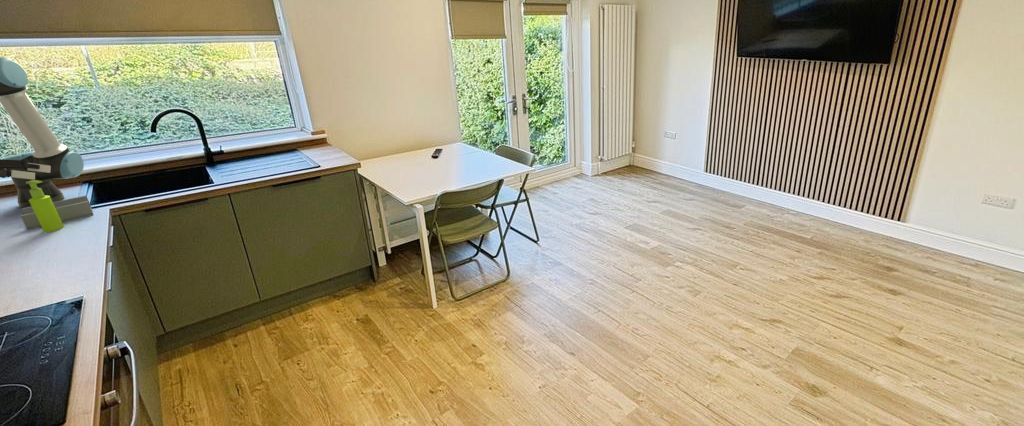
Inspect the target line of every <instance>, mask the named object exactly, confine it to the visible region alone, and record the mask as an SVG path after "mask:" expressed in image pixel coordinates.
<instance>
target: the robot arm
mask: <svg viewBox="0 0 1024 426" xmlns="http://www.w3.org/2000/svg"><path fill="white" fill-rule="evenodd" d="M28 77H29V75H28V73H27V71H26V70H25V68H24V67H23V66H22V64H20V63H18V61H15V60H13V59H11V58H9V57H0V104H1V105H2V107H3V108H4V109H5V111H6V112H7V114H8V115H9V116H10V118H11V119H12V121H13V122H14V124H15V125H16V127H17V128H18V129H19V130H20V132H21V133H22V135H23V136H24V138H25V139H26V140H27V142H28V143H29V144H30V146H31V147H32V149H33V150H30V151H24V152H21V153H16V154H13V155H10V156H7V157H5V158H0V178H2V179H5V178H11V180H12V182H13V184H14V186H15V188H16V190H17V205H18V206H19V208H21V209H22V208H27V207H32V206H31V204H30V202H29V200H30V199H32V196H31V194H30V192H29V190H31V187H30V185H29V183H28V184H26V182H28V181H32V180H39V181H42V183H39V184H36V185H37V187H38V188H41V189H42V191H43V193H44V195H48V196H50V197H51V200H52V202H56V201H61V200H65V195H64V193H63V192H62V190H60V189H59V188H58V187H57V186H56V185H55V184H54V183H53V181H52V180H61V179H62V180H63V179H64V180H65V179H68V180H69V179H71V178H72V179H73V178H77V177H79V176H80V175H81V174H82V173H83V170H84V166H85V164H84V159H83V157H82V156H81V154H80V153H78V152H76V151H70V148H68V146H67V145H65V144H62V143H60V142H59V141H58V139H57V137H56V136H55V135H54V133H53V131H52V130H51V129H50V127H49V125H48V123H46V121H45V120H44V118H43V117H42V115H41V114H40V112H39V111H38V109H37V108H36V106H35V105H34V103H33V102H32V100H31V98H30V97H29V95H28V94H27V90H28V89H29V87H28V86H27V85H28V83H29V78H28Z"/></svg>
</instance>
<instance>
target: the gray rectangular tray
mask: <svg viewBox="0 0 1024 426" xmlns="http://www.w3.org/2000/svg"><path fill="white" fill-rule="evenodd" d="M53 204H54V206H55V208H56V210H57V213H58V215H59V217H60V219H61V221H62V223H64V222H68V221H73V220H78V219H81V218H86V216H87V217H90V216H89V215H91V216H94V212H93V207H92V205H91V203H90V201H89V199H88V196H87V195H81V196H76V197H72V198H66V199H62V200H60V201H56V202H53ZM91 207H92V208H91ZM21 210H22V213H23V214H21V215H20V218H21V220H22V221H23V222H22V223H23V224H24V225H25V228H26V230H27V231H29V230H34V229H38V228H42V227H41V225H40V223H39V221H38V218H37V216H36V214H35V212H34V210H33V208H32V207H27V208H21Z"/></svg>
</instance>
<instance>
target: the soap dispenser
mask: <svg viewBox="0 0 1024 426" xmlns="http://www.w3.org/2000/svg"><path fill="white" fill-rule="evenodd" d="M28 183H29V185H30V187H31V190H29V192H30V194H31V196H32V199H30V200H29V202H30V204H31V206H32V208H33V210H34V212H35V214H36V216H37V218H38V221H39V223H40V225H41V227H40V228H41V229H42V230H43V232H44V233H52V232H56V231H60V230H62V229H64V228H65V226H64V222H62V221H61V219H60V217H59V215H58V213H57V210H56V208H55V206H54V204H53V202H52V200H51V197H50V196H48V195H44V193H43V191H42V189H41V188H38V187H37V185H36V184H39V183H42V181H39V180H32V181H28V182H26V184H28Z"/></svg>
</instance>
